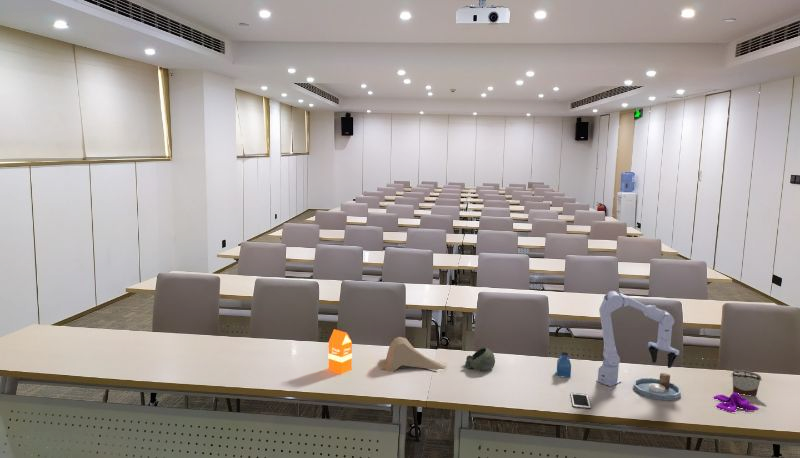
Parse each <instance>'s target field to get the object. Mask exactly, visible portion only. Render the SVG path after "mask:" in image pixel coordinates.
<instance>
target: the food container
mask: <svg viewBox="0 0 800 458" xmlns="http://www.w3.org/2000/svg"><path fill="white" fill-rule="evenodd" d="M730 376H731V378H732V393H739V394H745V395H744V396H746V395H751V396H750V397H754V396H756V397H757V394H758V391H759V386H760V382H762V381H763V380H762V376H761V375H760V374H758V373H755V372H753V371H748V370H744V369H738V370H737V369H736V370H733V371H732V373H731V374H730Z"/></svg>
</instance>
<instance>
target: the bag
mask: <svg viewBox="0 0 800 458" xmlns="http://www.w3.org/2000/svg"><path fill="white" fill-rule="evenodd" d="M378 363H379V367H380V370H385V372H386V371H387V372H391V373H392V372H395V371H396V370H398V369H399V368H400V367H401V366H406V367H414V368H424V369H427V370H430V371H432V372H434V371H435V370H438V369H445V368H446V366H447V365H446V366H444V365H442V364H440V363H441V362H437V361H435V360H433V359H431V358H429V357H427V356H425V354H424V353H423V354H422V353H421V352H420V351H419V350H417V349H416V348H415V347H414V346H413V345H412V344H411V343H410V341H409V340H408V339H407V338H406V337H403V336H398V337H395V338H394V340H392V341H391V343H390V345H389V347H388V350H387V353H386V358H384V359H383V358H382V359H378Z"/></svg>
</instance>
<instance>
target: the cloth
mask: <svg viewBox="0 0 800 458" xmlns="http://www.w3.org/2000/svg"><path fill="white" fill-rule="evenodd" d="M712 398H714V399H718V400H721V401H723V402H721V401H720V402H719V403H717V404H716V405H715V406H716V407H717V408H716V409H718V408H720V409H719V410H721V409H724V410H723V411H725V410H727V411H726V412H728V411H730V412H729V413H731V412H737V410H738V409H739V408H743V409H747V410H756V411H759V410H760V408H759V407H758V406H756V405H753V404H751V402H750V400H749V399H748V398H745V397H742V395H739V394H738V393H733V392H732V393H731V394H730V396H727V395H725V394H717V395H714V396H712ZM718 400H717V401H718ZM724 402H726V403H724ZM749 402H750V403H749ZM728 407H730V408H728ZM737 407H739V408H738V409H737ZM736 409H737V410H736ZM758 409H759V410H758ZM735 410H736V411H735ZM747 410H744V411H745V412H750V411H747Z"/></svg>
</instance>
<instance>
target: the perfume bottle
mask: <svg viewBox="0 0 800 458" xmlns="http://www.w3.org/2000/svg"><path fill="white" fill-rule="evenodd" d="M556 360H557V361H556V375H557V377H558V376H564V377H563V378H568V377H570V378H572V377H571V373H572V363H571V360H570V358H569V351H568V350H561V353H560V356H559V357H558V359H556Z"/></svg>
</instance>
